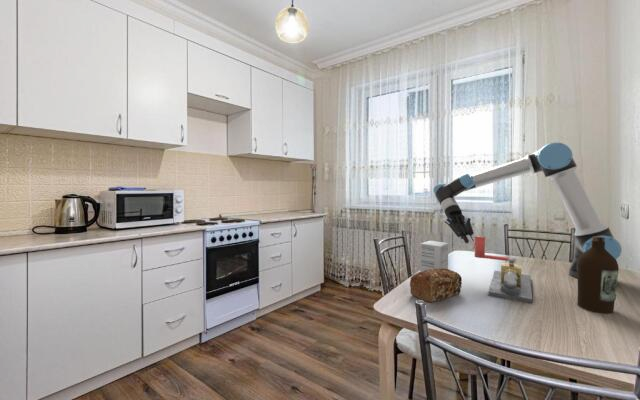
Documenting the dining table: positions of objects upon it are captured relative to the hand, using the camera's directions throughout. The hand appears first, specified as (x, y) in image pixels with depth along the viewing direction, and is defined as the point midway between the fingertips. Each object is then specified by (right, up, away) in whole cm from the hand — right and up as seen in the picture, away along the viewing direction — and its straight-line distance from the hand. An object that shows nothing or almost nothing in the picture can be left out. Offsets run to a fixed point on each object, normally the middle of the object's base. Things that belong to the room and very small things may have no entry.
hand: (473, 248), depth 138 cm
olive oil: (+27, -16, -32) cm, 45 cm away
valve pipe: (+11, -14, -10) cm, 21 cm away
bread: (-24, -15, -19) cm, 35 cm away
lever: (+6, -3, -7) cm, 10 cm away
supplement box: (-18, -14, -1) cm, 23 cm away
